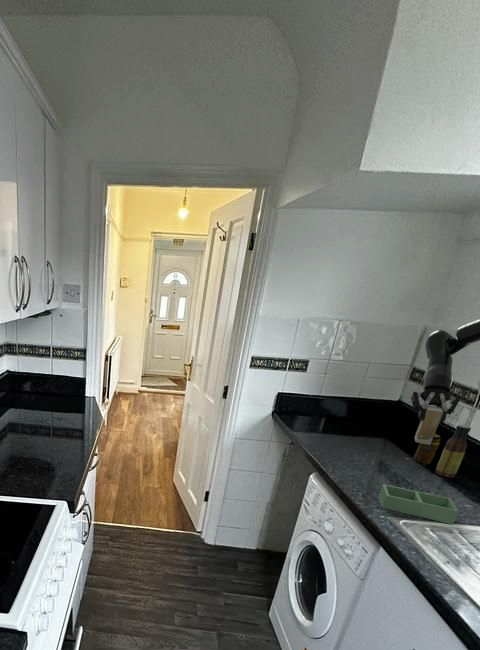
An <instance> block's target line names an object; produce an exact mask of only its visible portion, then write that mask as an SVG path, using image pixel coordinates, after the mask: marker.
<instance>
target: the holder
mask: <svg viewBox="0 0 480 650" xmlns="http://www.w3.org/2000/svg"><path fill="white" fill-rule="evenodd" d="M378 497H379V502H380V507H381V509H384V510H387V511H388V510H389V511H393V512H397V513H401V514H406V515H410V516H414V517H418V518H423V519H426V520H432V521H435V522H436V521H437V522H439V523H440V522H441V523H445V524H450V525H454V523H455V520H456V519H457V516H458V514H459V512H460V511H459V509H458V508H457V506H456V504H455V502H454V501H453V499H452V498H451V497H448V496H447V497H446V496H442V495H438V494H437V495H436V494H432V493H428V492H422V491H417V490H413V489H408V488H403V487H398V486H395V485H390V484H384V483H383V484H382V486H381V489H380V492H379V493H378Z"/></svg>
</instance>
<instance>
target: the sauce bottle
mask: <svg viewBox="0 0 480 650" xmlns="http://www.w3.org/2000/svg"><path fill="white" fill-rule="evenodd" d="M455 428H456V429H455V432H454V434H453V436H452V437H451V438H448V440H446V441H447V442H446V444H445V446H444V448H443V451H442V453H441V455H440V458H439V461H438V463H437V465H436V468H435V474H437V475H439V476H441V477H444V478H449V479H452V478H454V477H455V476H456V474H457V473H458V470H459V468H460V466H461V464H462V461H463V458H464V457H465V453H466V450H467V448H468V443H467V438H468V435H469V433H470V431H471V430H472V427H471V426H469V425H465V424H457V425H456V426H455Z"/></svg>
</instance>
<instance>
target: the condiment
mask: <svg viewBox="0 0 480 650" xmlns="http://www.w3.org/2000/svg"><path fill="white" fill-rule="evenodd" d="M441 439H442V436H440V434H437V433H435V434H434V436H433V439H432V441H431V444H430V445H428V444H422V443H418V447H417V449H416V451H415V453H414V455H413V457H406V458H405V460H408V461H410V460H411V459H413V461H414V462H416V463H419V464H422V465H430V464H431V463H432V461H433V459H434V457H435V454H436V453H437V450H438V448H439V446H440V441H441Z"/></svg>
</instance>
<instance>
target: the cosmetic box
mask: <svg viewBox="0 0 480 650" xmlns="http://www.w3.org/2000/svg"><path fill="white" fill-rule="evenodd" d="M425 409H426V414H425V419H424V420H423V421H420V422H419V425H418V427H417V430H416V432H415V435H414V441H415V443H418V444H420V443H422V444H428V445H430V444H431V441H432V439H433V436H434V434H436V432H437V429H438V426H439V424H440V423H439V422H440V419H441V417H442V415H443V410H442V408H440V407H437V406H434V405H427V407H426V408H425Z"/></svg>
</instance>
